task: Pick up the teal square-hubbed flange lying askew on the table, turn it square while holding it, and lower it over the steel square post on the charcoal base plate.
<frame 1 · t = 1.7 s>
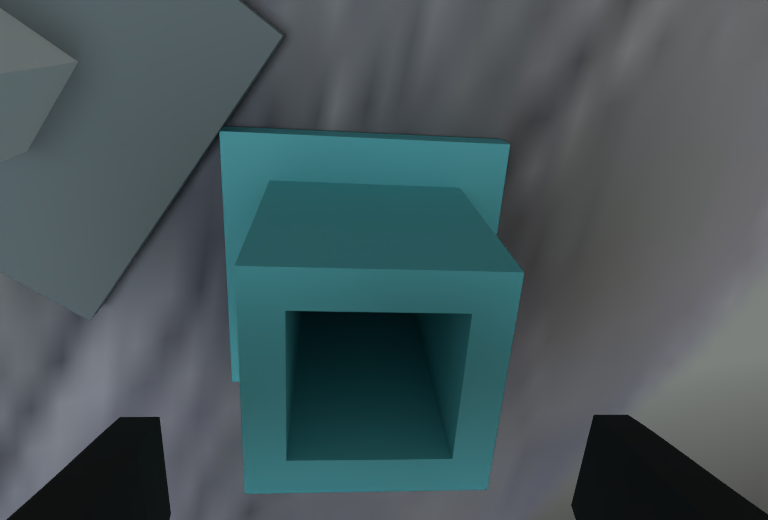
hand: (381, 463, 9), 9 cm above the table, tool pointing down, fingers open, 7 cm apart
flange: (360, 260, 18), on the table
post block: (18, 69, 15), on the table
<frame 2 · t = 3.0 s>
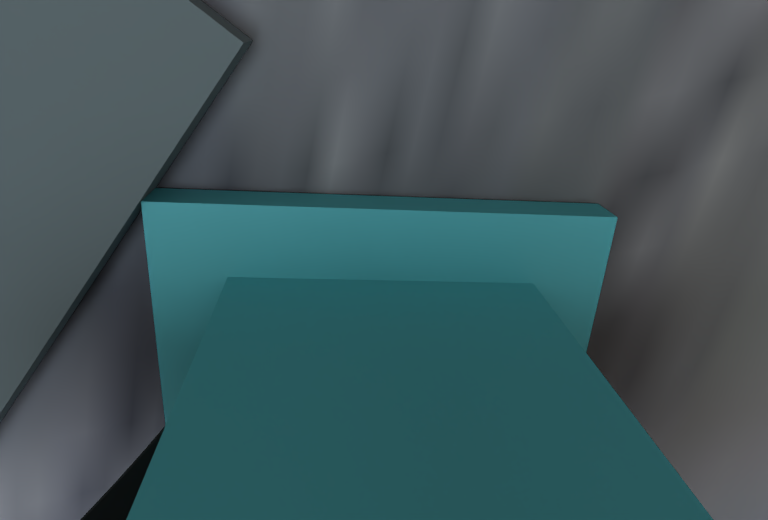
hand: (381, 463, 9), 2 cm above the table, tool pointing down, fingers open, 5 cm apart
flange: (373, 382, 12), on the table, touching gripper, post block
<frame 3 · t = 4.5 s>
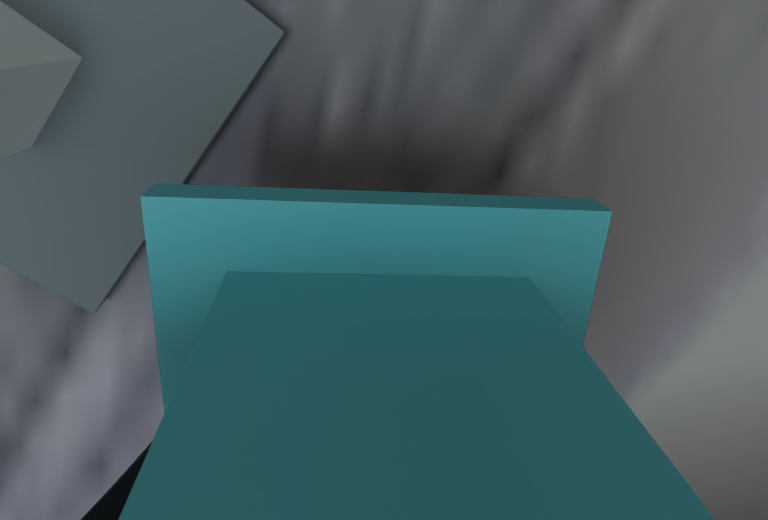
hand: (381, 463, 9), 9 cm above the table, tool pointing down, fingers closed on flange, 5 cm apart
flange: (371, 376, 12), point 7 cm above the table, touching gripper
post block: (23, 64, 15), on the table
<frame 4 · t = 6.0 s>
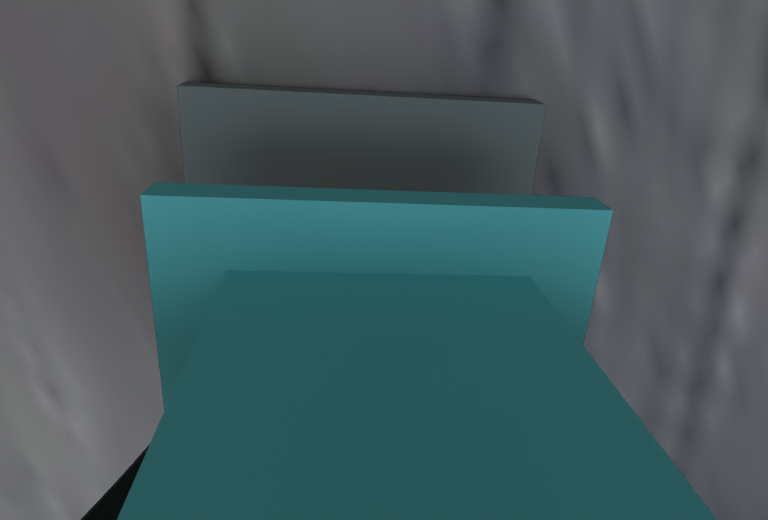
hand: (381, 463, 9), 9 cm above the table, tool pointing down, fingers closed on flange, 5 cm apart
flange: (371, 375, 12), point 7 cm above the table, touching gripper
post block: (358, 252, 18), on the table
when the fingers open (5 cm above the table, at t = 8.2 s): flange drops 1 cm, resting on post block.
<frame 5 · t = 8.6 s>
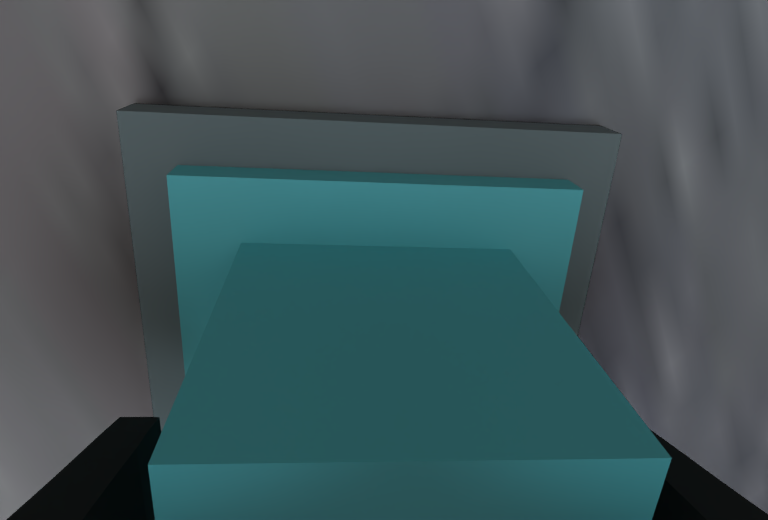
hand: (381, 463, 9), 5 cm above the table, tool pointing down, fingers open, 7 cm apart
flange: (369, 342, 13), point 1 cm above the table, touching post block
post block: (366, 321, 14), on the table
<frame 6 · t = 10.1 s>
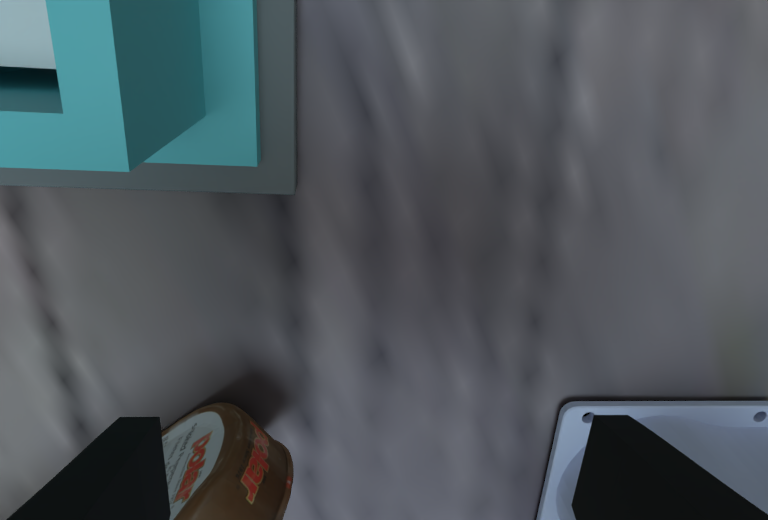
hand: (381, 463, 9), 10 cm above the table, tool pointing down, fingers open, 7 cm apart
tin: (131, 478, 22), on the table
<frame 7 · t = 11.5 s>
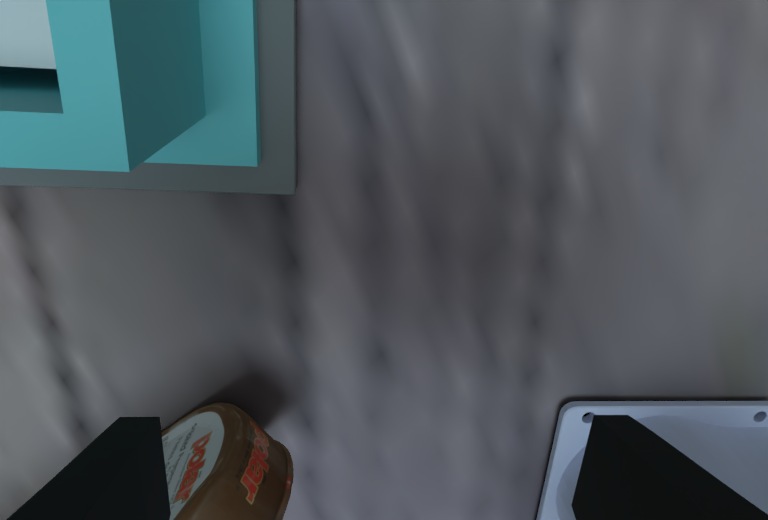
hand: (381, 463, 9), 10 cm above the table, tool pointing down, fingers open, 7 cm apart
tin: (131, 478, 22), on the table
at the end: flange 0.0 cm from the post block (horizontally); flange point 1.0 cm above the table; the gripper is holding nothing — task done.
